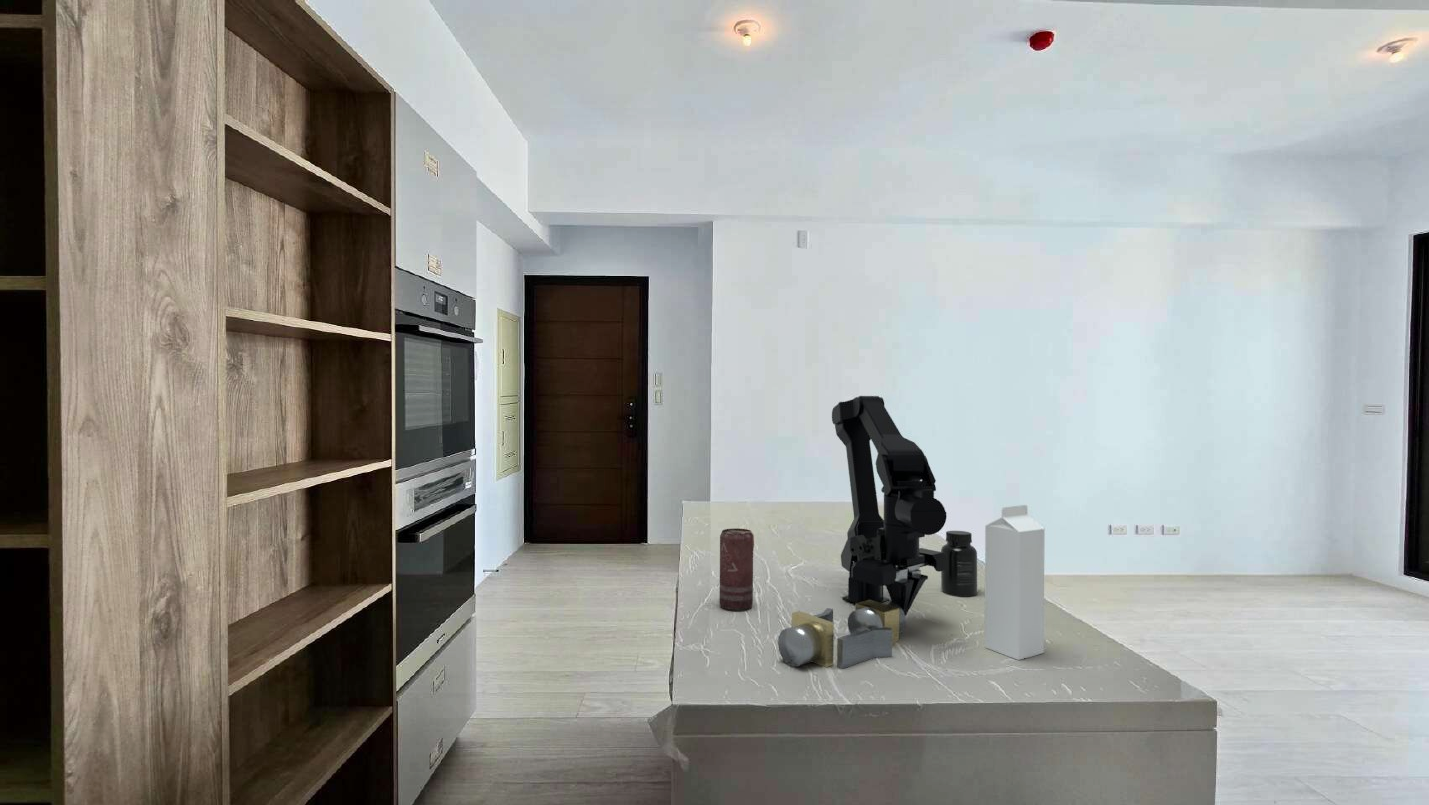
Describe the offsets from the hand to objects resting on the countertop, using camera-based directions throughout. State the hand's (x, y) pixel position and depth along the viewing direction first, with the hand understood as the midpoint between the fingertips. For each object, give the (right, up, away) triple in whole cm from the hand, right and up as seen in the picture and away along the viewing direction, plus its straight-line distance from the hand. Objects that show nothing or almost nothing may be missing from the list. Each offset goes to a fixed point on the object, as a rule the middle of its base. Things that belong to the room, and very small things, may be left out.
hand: (900, 617), depth 110 cm
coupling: (-14, -2, -11) cm, 18 cm away
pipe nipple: (-5, -2, -4) cm, 6 cm away
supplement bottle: (+18, -3, +23) cm, 29 cm away
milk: (+15, -2, -9) cm, 17 cm away
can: (-27, -2, +12) cm, 30 cm away
